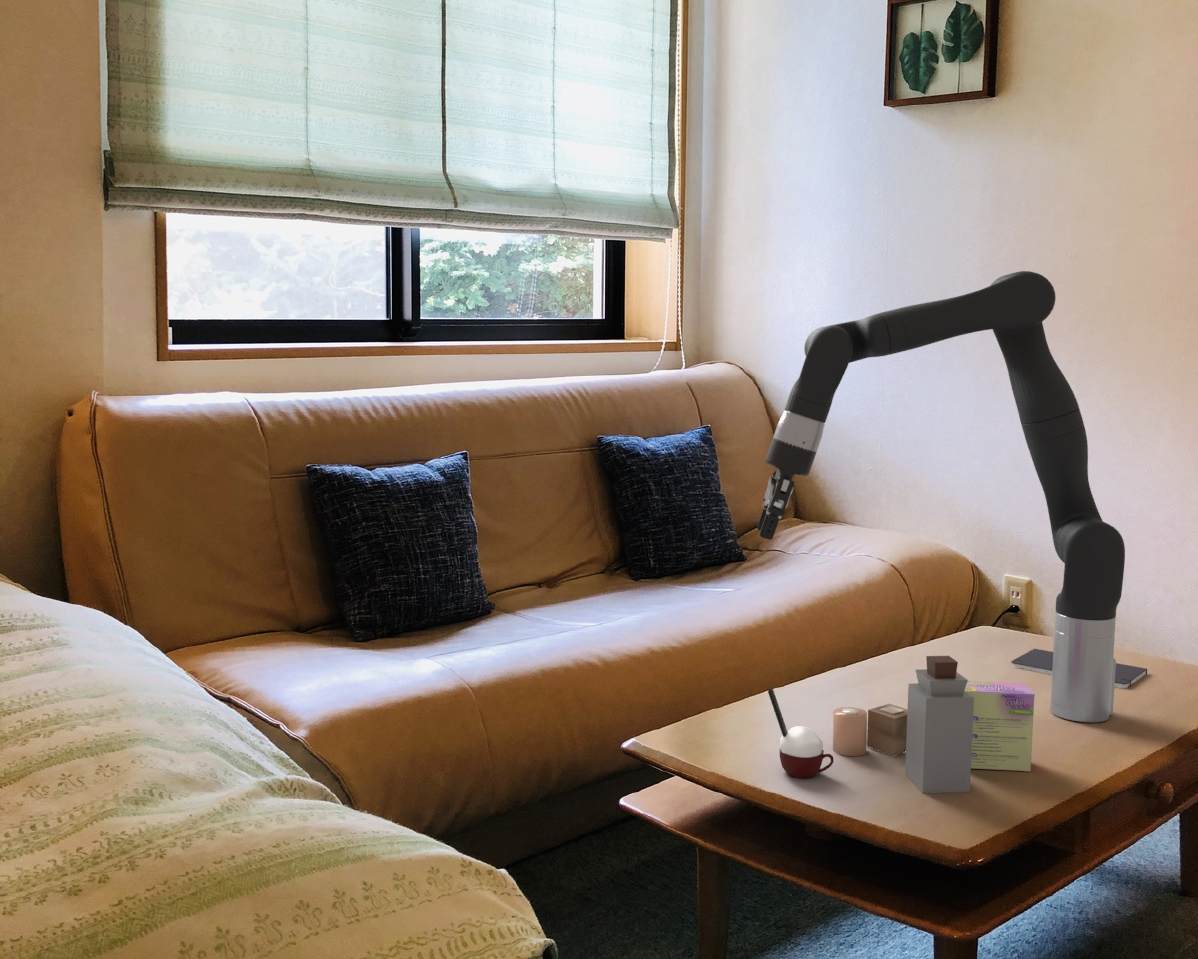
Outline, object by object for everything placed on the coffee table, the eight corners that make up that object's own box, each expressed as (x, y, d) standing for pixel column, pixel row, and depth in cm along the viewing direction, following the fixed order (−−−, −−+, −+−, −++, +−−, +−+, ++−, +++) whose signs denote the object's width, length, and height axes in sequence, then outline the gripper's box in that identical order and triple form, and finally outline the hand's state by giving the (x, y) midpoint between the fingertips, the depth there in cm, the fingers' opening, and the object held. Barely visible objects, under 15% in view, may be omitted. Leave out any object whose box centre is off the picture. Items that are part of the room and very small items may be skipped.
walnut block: (887, 740, 174) (889, 702, 174) (914, 750, 170) (915, 710, 170) (866, 747, 171) (868, 708, 171) (893, 757, 168) (894, 717, 167)
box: (1020, 758, 167) (1024, 681, 166) (1031, 772, 162) (1035, 693, 160) (949, 755, 168) (952, 679, 167) (957, 769, 163) (961, 691, 161)
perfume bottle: (905, 774, 161) (909, 653, 158) (950, 773, 161) (955, 652, 159) (922, 793, 154) (927, 666, 152) (969, 791, 154) (975, 665, 152)
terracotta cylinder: (849, 742, 173) (849, 703, 173) (873, 752, 169) (873, 712, 168) (826, 749, 171) (826, 709, 170) (849, 758, 167) (850, 718, 166)
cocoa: (836, 777, 160) (844, 697, 159) (813, 789, 156) (821, 706, 154) (780, 758, 167) (787, 680, 165) (757, 768, 162) (763, 688, 160)
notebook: (1147, 676, 210) (1033, 655, 224) (1147, 668, 210) (1034, 648, 224) (1126, 692, 201) (1009, 669, 215) (1126, 683, 201) (1009, 661, 215)
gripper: (821, 452, 177) (788, 548, 179) (813, 447, 191) (782, 535, 193) (776, 438, 178) (743, 533, 179) (771, 433, 192) (740, 522, 194)
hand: (763, 534), depth 186 cm, fingers open, 8 cm apart
